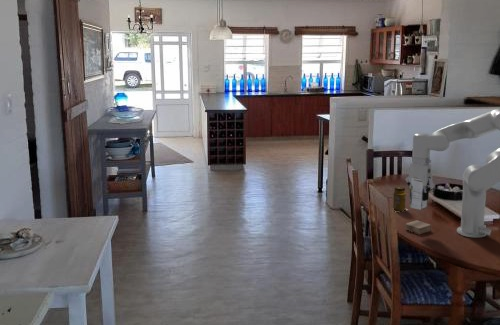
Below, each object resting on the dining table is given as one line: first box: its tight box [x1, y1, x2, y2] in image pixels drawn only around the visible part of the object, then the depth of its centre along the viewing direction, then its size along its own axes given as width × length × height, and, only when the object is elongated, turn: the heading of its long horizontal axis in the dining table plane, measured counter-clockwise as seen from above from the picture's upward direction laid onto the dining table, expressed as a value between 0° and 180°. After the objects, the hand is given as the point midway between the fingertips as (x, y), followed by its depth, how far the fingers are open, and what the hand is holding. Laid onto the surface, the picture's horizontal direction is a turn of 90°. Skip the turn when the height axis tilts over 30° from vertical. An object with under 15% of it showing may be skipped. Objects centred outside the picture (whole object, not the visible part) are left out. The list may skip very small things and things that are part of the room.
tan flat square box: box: [404, 219, 432, 236], centre depth 237 cm, size 8×8×3 cm
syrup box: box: [409, 177, 428, 210], centre depth 234 cm, size 6×6×14 cm
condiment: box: [392, 186, 409, 213], centre depth 266 cm, size 7×8×12 cm
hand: (418, 198), depth 234 cm, fingers closed on syrup box, 6 cm apart
